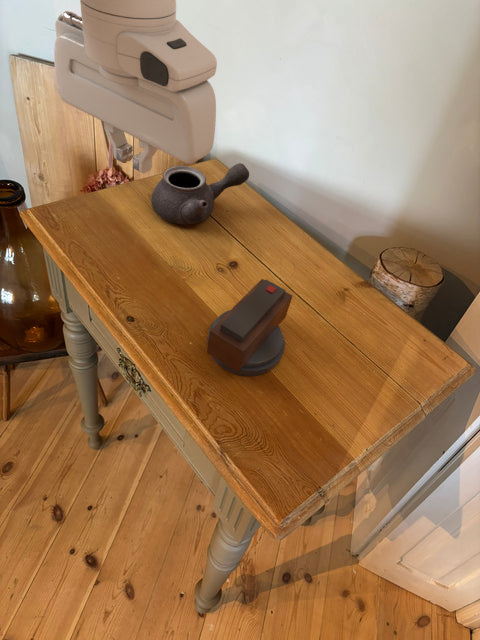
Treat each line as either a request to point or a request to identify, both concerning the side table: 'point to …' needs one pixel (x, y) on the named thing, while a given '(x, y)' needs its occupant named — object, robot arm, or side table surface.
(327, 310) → the side table surface
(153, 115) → the robot arm
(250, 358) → the remote caddy
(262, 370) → the turntable base
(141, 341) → the side table surface
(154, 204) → the teapot
